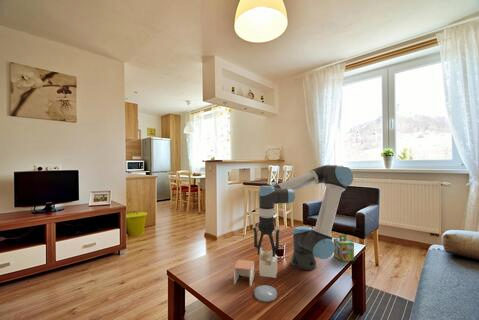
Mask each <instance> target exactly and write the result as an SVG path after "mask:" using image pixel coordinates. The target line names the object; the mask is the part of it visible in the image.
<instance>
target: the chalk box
mask: <svg viewBox="0 0 479 320" xmlns="http://www.w3.org/2000/svg"><path fill="white" fill-rule="evenodd" d="M333 242H334V245H335V250H334V253H333V257H334V258H336V259H338V260H339V261H340V262H352V261H353V262H354V261H355V243H354V242H352V241H351V240H349V239H347V235H346V234H340V235H339V238H333Z"/></svg>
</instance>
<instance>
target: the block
mask: <svg viewBox="0 0 479 320" xmlns="http://www.w3.org/2000/svg"><path fill="white" fill-rule="evenodd" d="M261 264H263V265H270V266H271V250H263V249H262V252H261Z"/></svg>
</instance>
